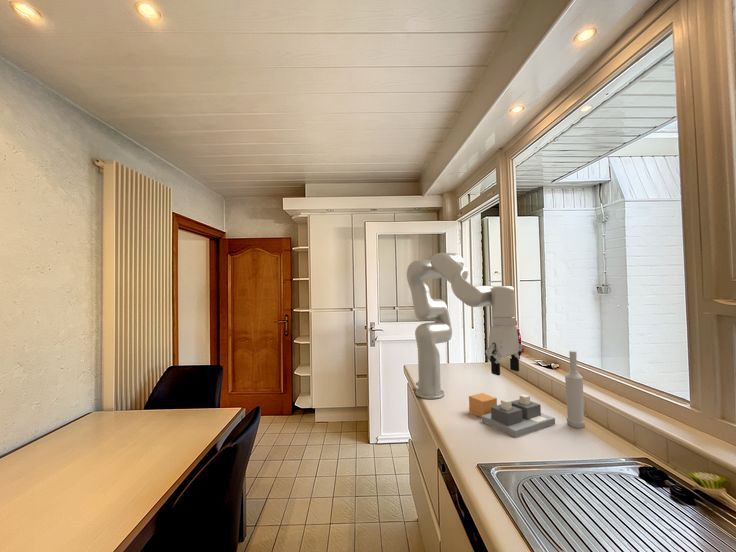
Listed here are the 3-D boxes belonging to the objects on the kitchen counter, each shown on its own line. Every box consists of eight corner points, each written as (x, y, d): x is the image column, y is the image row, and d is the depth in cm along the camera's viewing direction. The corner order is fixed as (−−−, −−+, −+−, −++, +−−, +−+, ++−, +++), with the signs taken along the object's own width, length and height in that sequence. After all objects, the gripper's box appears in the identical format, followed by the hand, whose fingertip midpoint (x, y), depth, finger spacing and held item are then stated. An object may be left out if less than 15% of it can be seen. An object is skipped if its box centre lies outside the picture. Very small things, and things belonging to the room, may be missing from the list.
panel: (481, 421, 116) (481, 404, 116) (519, 410, 125) (519, 394, 125) (515, 437, 103) (514, 418, 103) (555, 423, 112) (554, 406, 112)
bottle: (585, 429, 107) (582, 353, 108) (566, 426, 110) (563, 352, 111) (584, 423, 112) (581, 350, 112) (567, 420, 115) (564, 349, 115)
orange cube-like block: (469, 412, 124) (468, 396, 124) (482, 408, 127) (482, 393, 128) (483, 418, 118) (483, 401, 118) (497, 414, 121) (496, 398, 121)
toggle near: (501, 411, 112) (500, 400, 112) (506, 410, 113) (505, 399, 113) (507, 414, 110) (506, 402, 110) (511, 412, 111) (511, 401, 111)
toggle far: (519, 406, 116) (519, 395, 116) (524, 405, 117) (523, 394, 118) (525, 408, 114) (525, 397, 114) (530, 407, 115) (529, 396, 115)
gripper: (511, 319, 119) (513, 366, 119) (476, 322, 112) (478, 373, 111) (530, 321, 113) (532, 371, 112) (494, 324, 105) (496, 379, 104)
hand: (505, 372), depth 112 cm, fingers open, 8 cm apart
